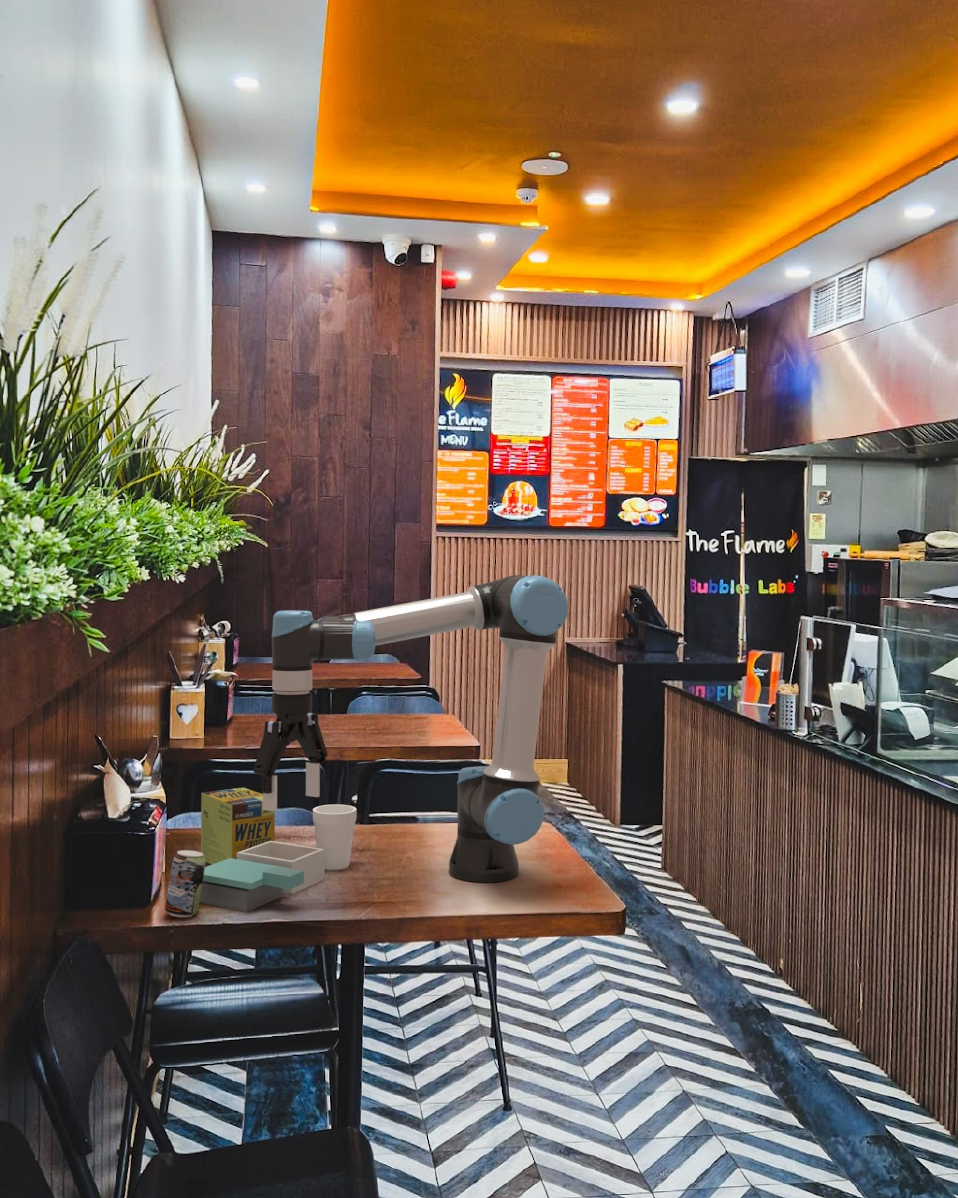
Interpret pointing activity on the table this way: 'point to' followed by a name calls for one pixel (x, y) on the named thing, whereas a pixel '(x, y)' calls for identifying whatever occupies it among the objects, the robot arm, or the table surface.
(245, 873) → the lid
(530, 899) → the table surface
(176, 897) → the beverage can
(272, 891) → the block
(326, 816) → the foam cup
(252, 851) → the tub
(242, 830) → the protein box
